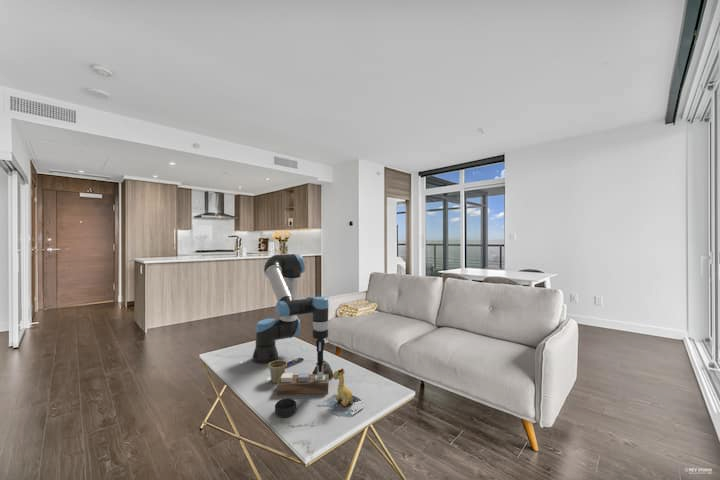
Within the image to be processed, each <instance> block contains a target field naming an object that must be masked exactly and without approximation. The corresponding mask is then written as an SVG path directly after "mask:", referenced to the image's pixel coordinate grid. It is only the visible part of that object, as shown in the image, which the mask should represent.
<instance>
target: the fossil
mask: <svg viewBox="0 0 720 480" xmlns="http://www.w3.org/2000/svg"><path fill="white" fill-rule="evenodd" d="M324 361H325V362H324V363H323V374H329V380H330V379H333V378H334V372H333V369H332V368H331V366H330V363H328V361H327V360H324ZM317 367H318V365H316V366H315V367H314V370H313V371H312V373H311V374H317Z"/></svg>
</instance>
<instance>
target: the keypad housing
mask: <svg viewBox="0 0 720 480" xmlns="http://www.w3.org/2000/svg"><path fill="white" fill-rule="evenodd" d="M315 375H317V374H312V373H311V374H310V373H309V381H308V382H298V376H299V374H293V380H292V382H281V377H282V375H281V376H280V378H279V381H278V382H276V396H285V395H286V396H288V395H290V396H291V395H292V396H293V395H294V396H295V395H322V394H323V395H325V394H329V388H330V387H329V385H330V383H329V381H330V379H329V374H323V375H326V381H315Z"/></svg>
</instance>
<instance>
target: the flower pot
mask: <svg viewBox="0 0 720 480" xmlns="http://www.w3.org/2000/svg"><path fill="white" fill-rule="evenodd" d="M267 364H268V368H269V372H270V378H271V379H270V380H271V382H272V383H274V384H277V383H278V381H279V378H280V376H281V375H282V374H283V373H286V368H287V365H288V362H287V361H286V360H283V359H282V360H281V359H277V360H275V361H272V362H269V363H267Z"/></svg>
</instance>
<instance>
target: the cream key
mask: <svg viewBox="0 0 720 480" xmlns="http://www.w3.org/2000/svg"><path fill="white" fill-rule="evenodd" d="M293 375H294V373H293V372H285V373H283V374H282V377H281V382H292V380H293Z"/></svg>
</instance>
